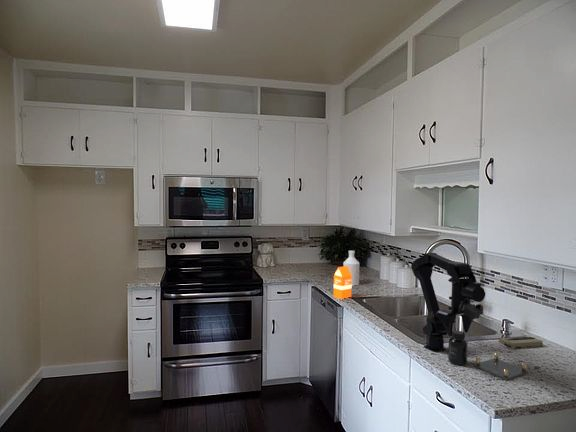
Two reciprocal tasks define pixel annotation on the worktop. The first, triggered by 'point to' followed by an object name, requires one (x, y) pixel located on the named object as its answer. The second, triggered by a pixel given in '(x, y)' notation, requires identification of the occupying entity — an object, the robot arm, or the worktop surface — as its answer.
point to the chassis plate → (501, 368)
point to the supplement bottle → (457, 348)
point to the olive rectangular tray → (521, 342)
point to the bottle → (353, 267)
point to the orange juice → (342, 283)
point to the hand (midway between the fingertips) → (458, 334)
